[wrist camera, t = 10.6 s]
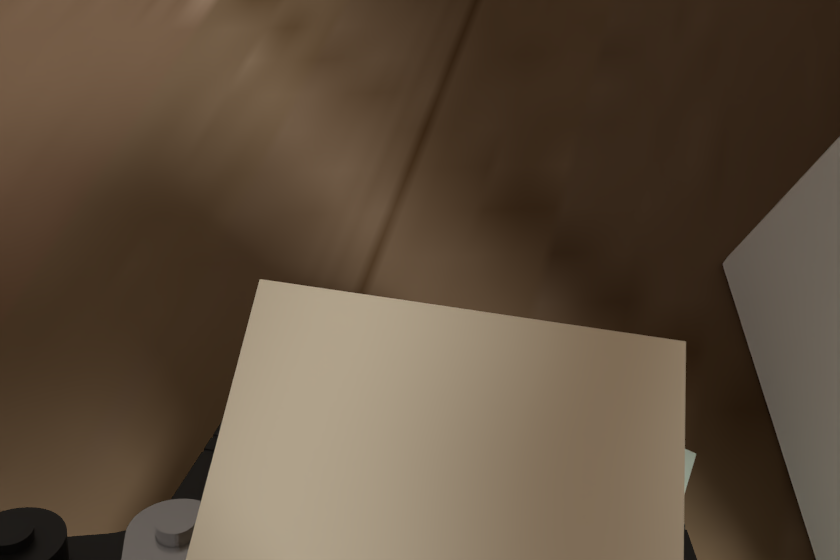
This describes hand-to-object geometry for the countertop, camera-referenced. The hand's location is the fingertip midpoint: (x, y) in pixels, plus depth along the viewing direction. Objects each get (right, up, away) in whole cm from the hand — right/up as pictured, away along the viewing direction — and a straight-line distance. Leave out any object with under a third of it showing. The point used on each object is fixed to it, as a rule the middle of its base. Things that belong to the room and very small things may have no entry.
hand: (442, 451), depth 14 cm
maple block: (0, -3, +3) cm, 5 cm away
